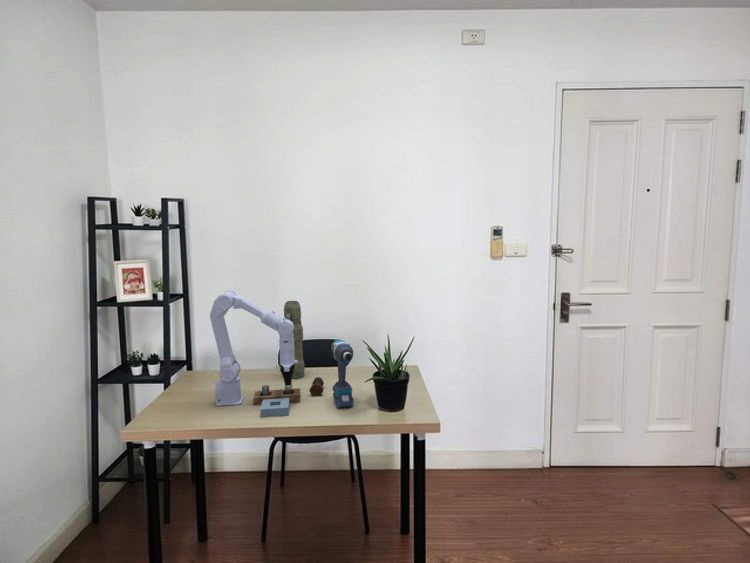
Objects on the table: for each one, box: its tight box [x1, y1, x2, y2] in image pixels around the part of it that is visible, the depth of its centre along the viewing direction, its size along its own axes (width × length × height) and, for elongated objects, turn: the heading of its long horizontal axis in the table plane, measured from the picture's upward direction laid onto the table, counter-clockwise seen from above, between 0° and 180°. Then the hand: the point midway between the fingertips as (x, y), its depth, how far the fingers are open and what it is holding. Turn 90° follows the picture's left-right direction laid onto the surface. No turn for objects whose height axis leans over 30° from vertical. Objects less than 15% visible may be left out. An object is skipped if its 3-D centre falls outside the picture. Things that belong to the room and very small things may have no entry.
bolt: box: [308, 376, 325, 397], centre depth 207 cm, size 6×5×15 cm
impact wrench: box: [331, 338, 354, 409], centre depth 188 cm, size 8×22×25 cm, turn 15°
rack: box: [252, 388, 301, 406], centre depth 196 cm, size 18×8×3 cm, turn 98°
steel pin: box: [284, 381, 293, 394], centre depth 196 cm, size 3×3×7 cm
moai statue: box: [283, 300, 306, 380], centre depth 224 cm, size 9×12×35 cm
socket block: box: [259, 398, 291, 418], centre depth 185 cm, size 10×10×3 cm
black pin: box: [261, 384, 270, 396], centre depth 195 cm, size 3×3×6 cm
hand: (288, 383), depth 196 cm, fingers closed on steel pin, 3 cm apart
